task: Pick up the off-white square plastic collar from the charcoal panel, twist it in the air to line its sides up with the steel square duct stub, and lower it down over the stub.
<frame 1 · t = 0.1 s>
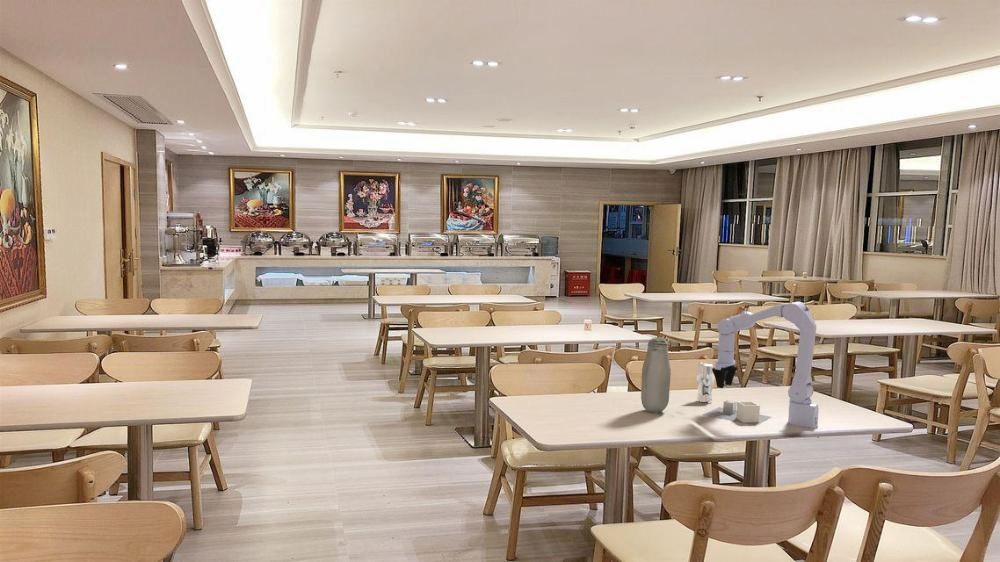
hand: (724, 386, 274), 10 cm above the table, tool pointing down, fingers open, 7 cm apart
duct panel: (737, 419, 266), on the table
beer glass: (704, 401, 292), on the table
duct stub: (729, 415, 270), resting on duct panel
grey bottle: (654, 412, 273), on the table
collar: (747, 420, 260), point 1 cm above the table, touching duct panel
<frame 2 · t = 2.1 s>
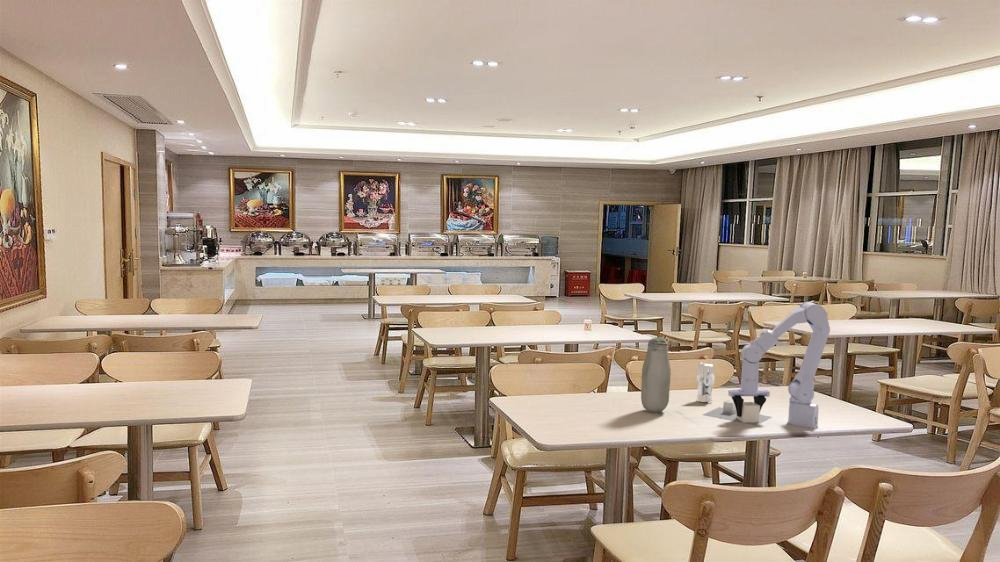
hand: (747, 416, 260), 3 cm above the table, tool pointing down, fingers closed on collar, 6 cm apart
collar: (747, 420, 260), point 1 cm above the table, touching duct panel, gripper
everything else where it was.
when the fingers open (4 cm above the table, at t = 7.1 s): collar drops 1 cm, resting on duct panel.
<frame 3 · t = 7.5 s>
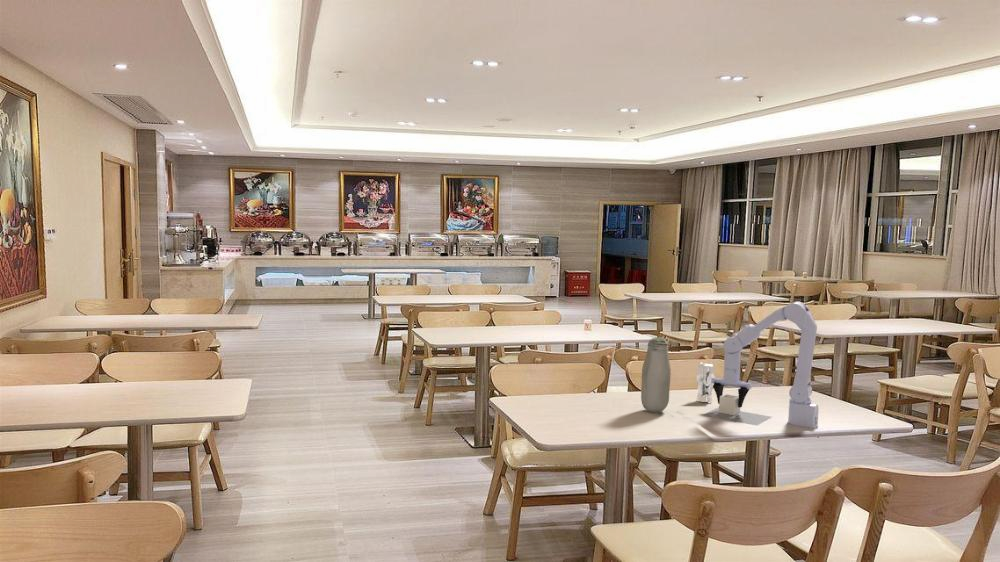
hand: (729, 405, 270), 4 cm above the table, tool pointing down, fingers open, 7 cm apart
collar: (729, 412, 270), point 1 cm above the table, touching duct panel
everything else where it was.
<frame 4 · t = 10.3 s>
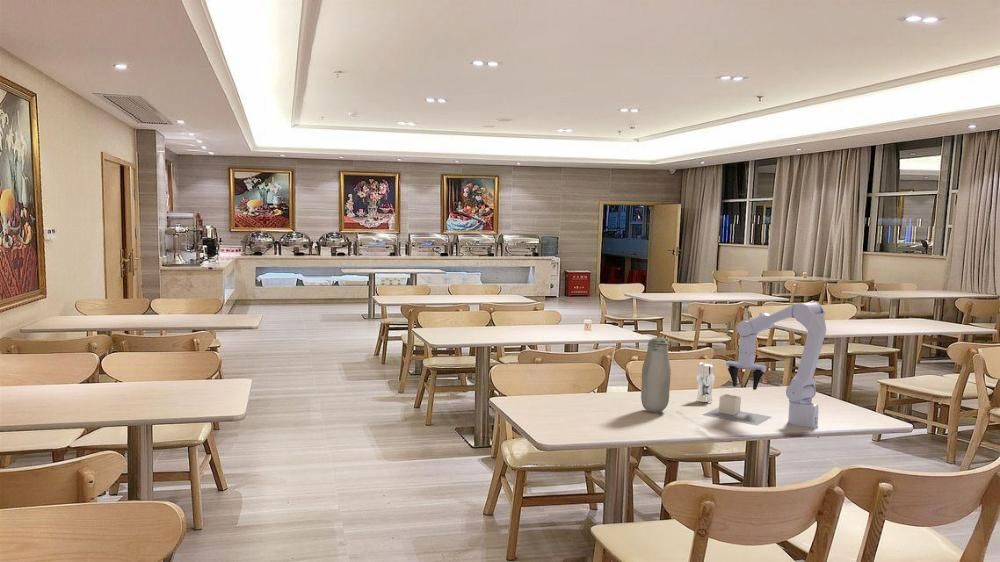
hand: (744, 387, 276), 9 cm above the table, tool pointing down, fingers open, 7 cm apart
nothing on the table moved.
at the end: collar 0.1 cm off-centre on the duct stub, point 1.2 cm above the duct stub's base; collar tilted 0°; the gripper is holding nothing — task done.
